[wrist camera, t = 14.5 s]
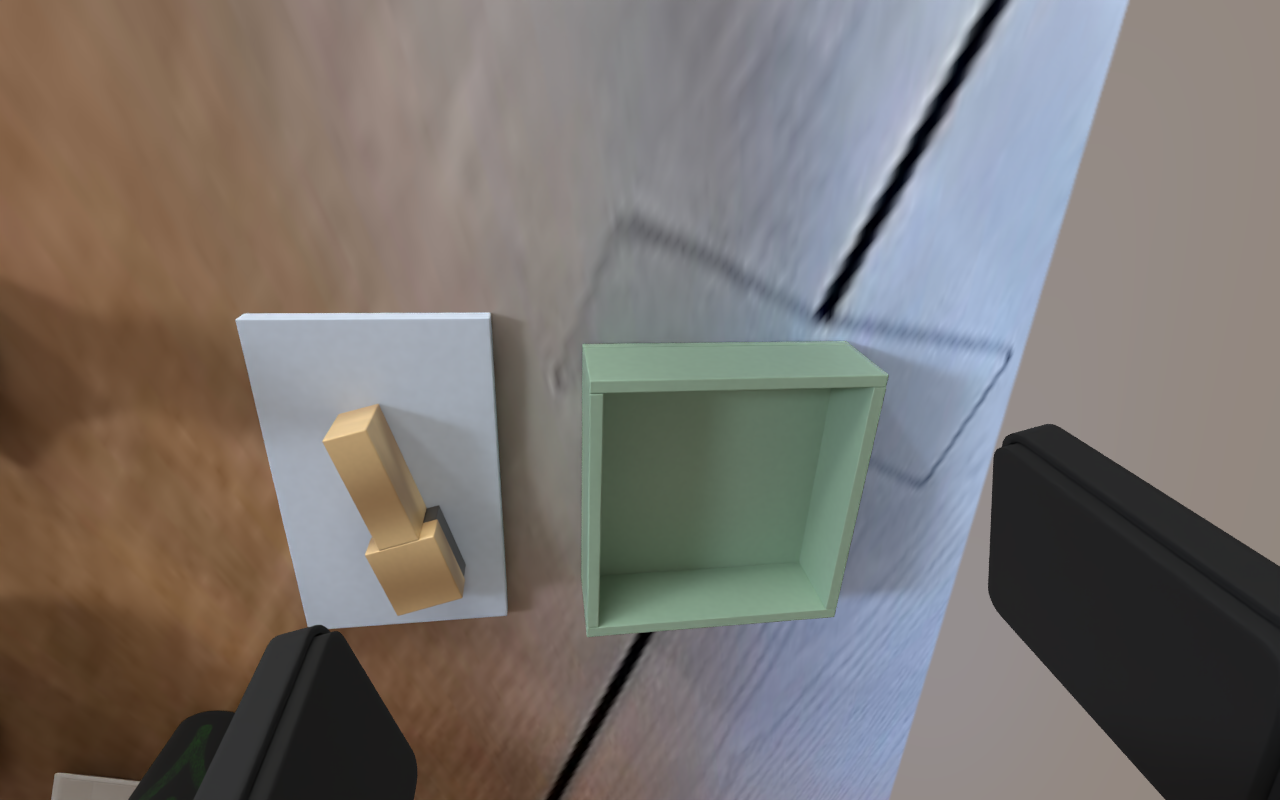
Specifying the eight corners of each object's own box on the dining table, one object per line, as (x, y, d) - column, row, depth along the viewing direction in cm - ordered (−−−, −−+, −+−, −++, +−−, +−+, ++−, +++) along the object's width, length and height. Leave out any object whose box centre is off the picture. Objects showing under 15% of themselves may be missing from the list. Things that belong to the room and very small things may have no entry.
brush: (323, 417, 34) (304, 445, 31) (393, 398, 34) (381, 425, 31) (406, 580, 39) (397, 616, 36) (467, 563, 39) (462, 598, 36)
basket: (582, 343, 35) (589, 380, 30) (846, 340, 37) (889, 374, 33) (581, 578, 42) (586, 637, 37) (803, 563, 44) (834, 617, 40)
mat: (243, 313, 32) (234, 319, 31) (490, 312, 34) (489, 318, 33) (313, 618, 40) (308, 630, 39) (508, 604, 42) (507, 615, 41)
